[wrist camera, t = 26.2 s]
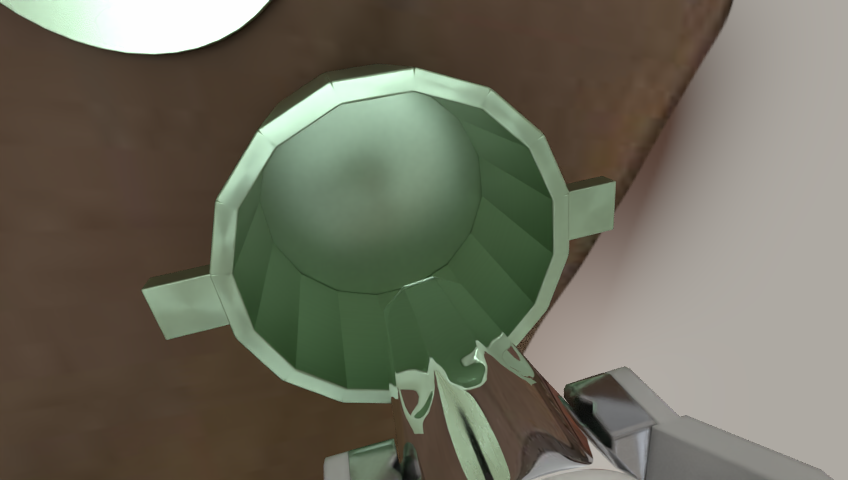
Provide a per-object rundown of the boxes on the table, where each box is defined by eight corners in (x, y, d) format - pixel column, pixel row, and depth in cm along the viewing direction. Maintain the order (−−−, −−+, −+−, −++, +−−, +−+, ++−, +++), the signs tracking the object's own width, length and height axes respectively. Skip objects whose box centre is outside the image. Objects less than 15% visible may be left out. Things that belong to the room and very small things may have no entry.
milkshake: (504, 232, 14) (863, 552, 5) (481, 366, 16) (707, 768, 7) (363, 234, 13) (498, 658, 4) (358, 378, 15) (437, 882, 6)
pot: (531, 261, 30) (616, 341, 22) (246, 334, 27) (215, 458, 19) (523, 39, 24) (637, 29, 16) (152, 99, 21) (44, 128, 13)
